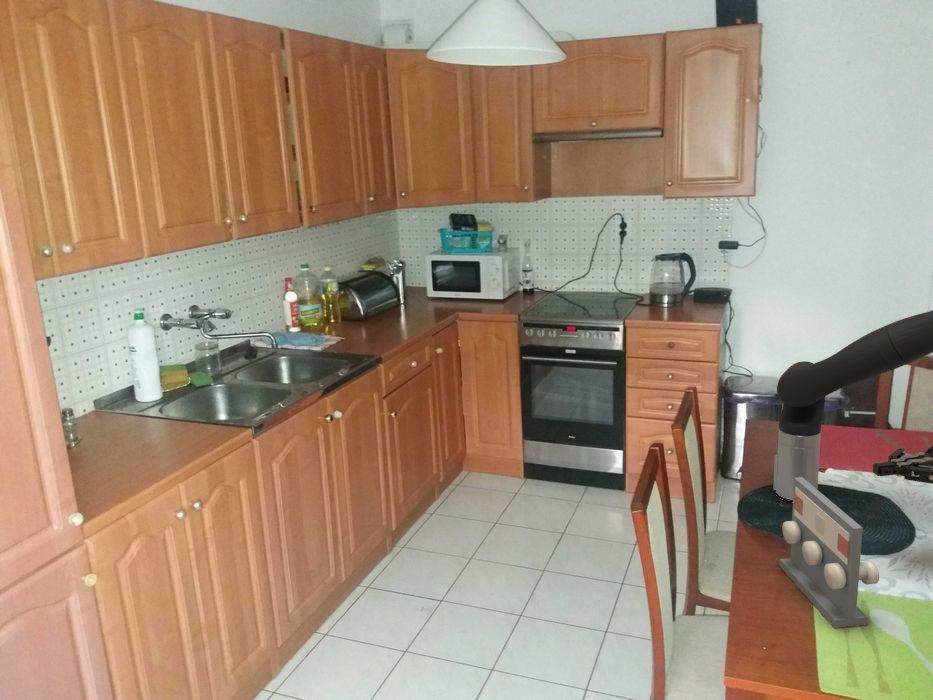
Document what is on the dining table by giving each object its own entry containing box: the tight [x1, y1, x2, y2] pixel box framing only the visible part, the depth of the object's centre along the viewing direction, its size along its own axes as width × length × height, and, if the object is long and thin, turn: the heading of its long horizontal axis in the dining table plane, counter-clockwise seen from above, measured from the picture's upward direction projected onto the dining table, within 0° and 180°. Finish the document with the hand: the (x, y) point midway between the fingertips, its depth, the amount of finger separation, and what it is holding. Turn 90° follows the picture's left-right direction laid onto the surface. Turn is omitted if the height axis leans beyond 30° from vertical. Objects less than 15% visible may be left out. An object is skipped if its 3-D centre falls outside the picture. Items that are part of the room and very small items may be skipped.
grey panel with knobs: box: [778, 477, 868, 629], centre depth 143 cm, size 6×21×20 cm, turn 4°
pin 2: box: [824, 560, 880, 589], centre depth 136 cm, size 8×4×4 cm, turn 94°
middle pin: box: [802, 541, 823, 565], centre depth 144 cm, size 8×4×4 cm, turn 94°
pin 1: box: [781, 520, 802, 545], centre depth 151 cm, size 8×4×4 cm, turn 94°
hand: (875, 470), depth 149 cm, fingers closed
